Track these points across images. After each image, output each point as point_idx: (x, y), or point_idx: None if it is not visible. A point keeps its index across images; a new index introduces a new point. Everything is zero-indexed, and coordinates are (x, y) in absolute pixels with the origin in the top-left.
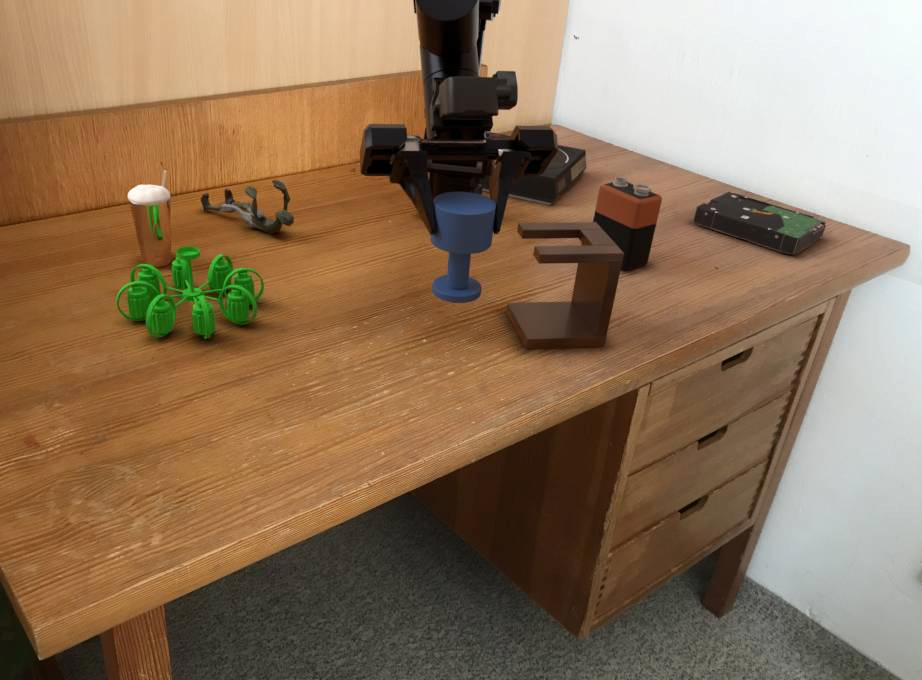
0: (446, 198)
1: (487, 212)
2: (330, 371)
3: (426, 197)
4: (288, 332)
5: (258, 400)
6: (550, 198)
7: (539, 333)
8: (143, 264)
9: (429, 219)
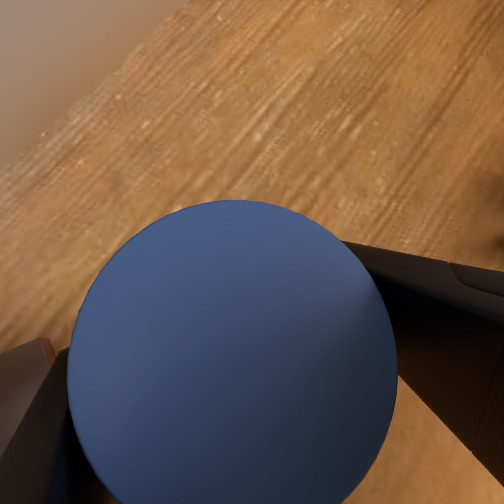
0: (344, 374)
1: (103, 269)
2: (347, 164)
3: (422, 272)
4: (449, 248)
5: (395, 82)
6: None
7: (12, 374)
8: None
9: (348, 245)
